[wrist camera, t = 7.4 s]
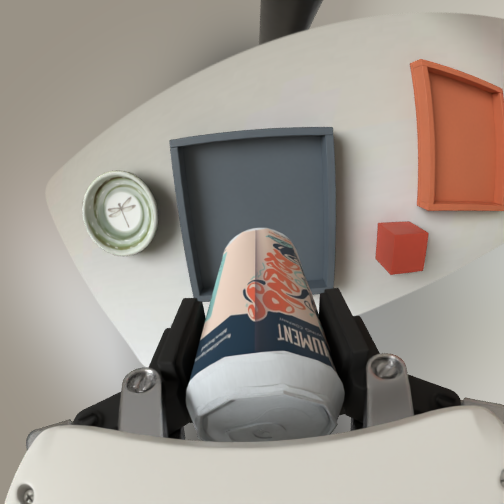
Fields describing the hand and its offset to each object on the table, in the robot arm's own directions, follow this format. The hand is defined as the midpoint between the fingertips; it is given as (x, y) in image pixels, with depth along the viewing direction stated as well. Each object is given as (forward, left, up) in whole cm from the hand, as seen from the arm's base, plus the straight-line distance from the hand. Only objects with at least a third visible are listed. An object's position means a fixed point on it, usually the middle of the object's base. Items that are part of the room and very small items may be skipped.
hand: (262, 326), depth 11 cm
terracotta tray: (-9, +27, -19) cm, 34 cm away
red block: (+4, +16, -19) cm, 25 cm away
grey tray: (0, 0, -19) cm, 19 cm away
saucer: (-2, -15, -20) cm, 25 cm away
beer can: (0, 0, -7) cm, 7 cm away
